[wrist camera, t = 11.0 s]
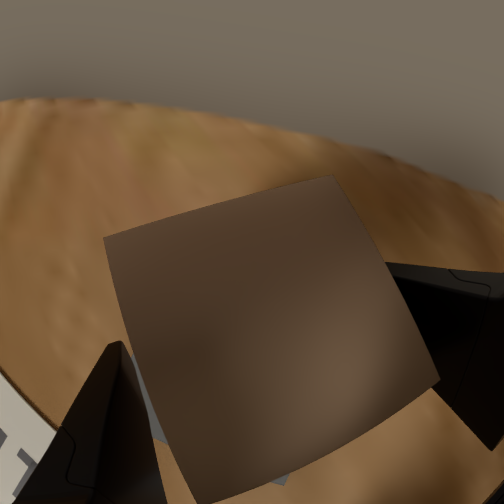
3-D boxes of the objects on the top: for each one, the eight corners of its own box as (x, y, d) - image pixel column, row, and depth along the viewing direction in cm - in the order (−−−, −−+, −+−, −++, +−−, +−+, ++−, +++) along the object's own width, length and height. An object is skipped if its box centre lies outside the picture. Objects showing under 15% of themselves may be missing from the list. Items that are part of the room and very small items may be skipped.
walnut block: (302, 397, 16) (440, 380, 6) (202, 438, 14) (199, 507, 4) (260, 303, 18) (332, 174, 8) (162, 338, 16) (103, 238, 6)
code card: (99, 466, 13) (98, 467, 13) (40, 549, 9) (39, 550, 9) (-9, 361, 14) (-10, 361, 14) (-55, 450, 10) (-57, 451, 10)
